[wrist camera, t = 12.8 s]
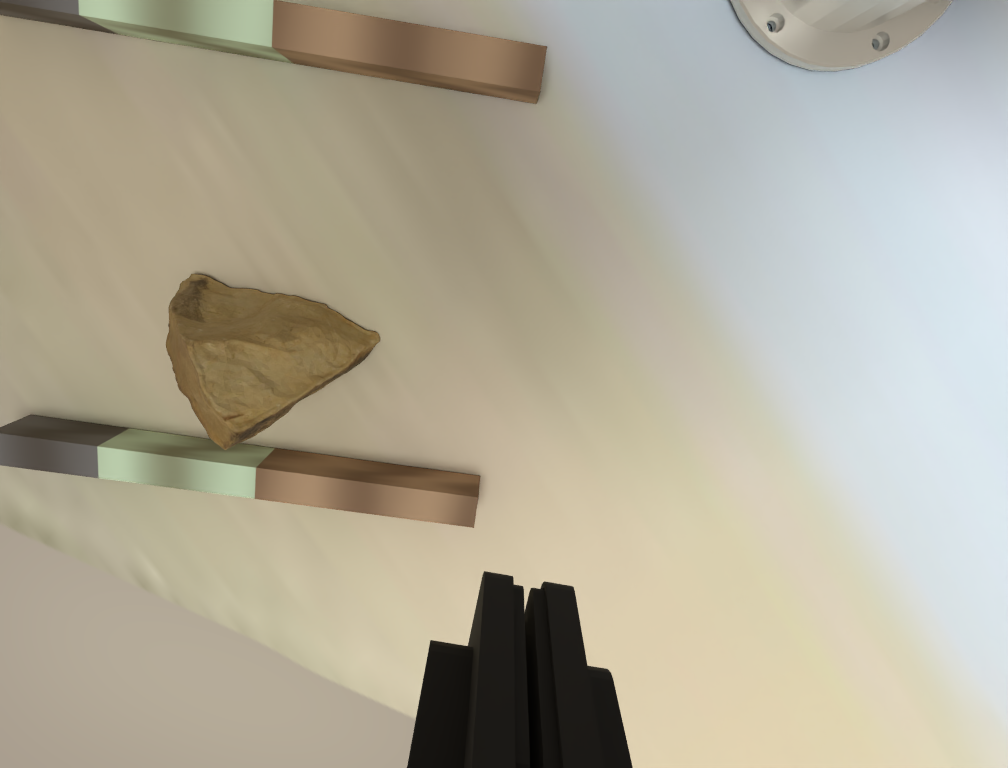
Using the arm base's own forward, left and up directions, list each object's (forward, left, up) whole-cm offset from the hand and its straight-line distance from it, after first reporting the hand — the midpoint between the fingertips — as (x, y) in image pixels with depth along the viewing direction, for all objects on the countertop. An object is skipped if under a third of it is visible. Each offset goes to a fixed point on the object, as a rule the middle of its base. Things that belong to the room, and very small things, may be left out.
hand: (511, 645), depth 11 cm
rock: (+14, 0, -26) cm, 29 cm away
